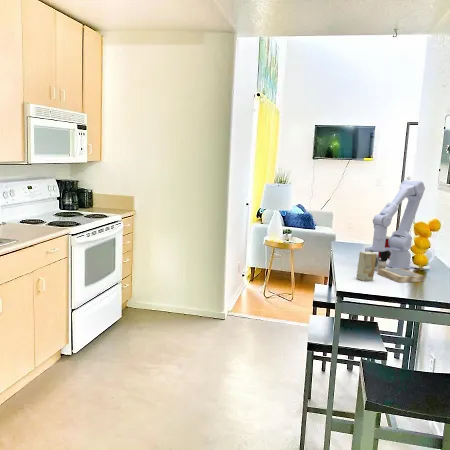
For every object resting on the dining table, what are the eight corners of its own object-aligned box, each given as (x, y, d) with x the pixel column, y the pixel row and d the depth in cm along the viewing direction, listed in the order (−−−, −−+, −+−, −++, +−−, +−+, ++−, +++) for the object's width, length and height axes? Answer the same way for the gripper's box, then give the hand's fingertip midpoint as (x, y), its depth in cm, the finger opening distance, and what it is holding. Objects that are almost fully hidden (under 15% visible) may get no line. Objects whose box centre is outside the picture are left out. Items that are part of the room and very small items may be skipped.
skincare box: (362, 281, 195) (366, 253, 193) (355, 278, 199) (359, 251, 197) (373, 280, 198) (377, 253, 196) (366, 277, 202) (369, 251, 200)
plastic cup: (398, 259, 246) (401, 238, 244) (382, 260, 242) (385, 238, 240) (385, 255, 256) (388, 234, 254) (369, 255, 252) (372, 234, 250)
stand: (400, 273, 215) (401, 267, 215) (423, 281, 202) (424, 275, 202) (377, 274, 210) (377, 268, 209) (399, 282, 197) (399, 276, 197)
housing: (373, 267, 224) (375, 255, 223) (384, 271, 217) (386, 259, 216) (366, 267, 222) (367, 255, 221) (377, 271, 215) (379, 259, 214)
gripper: (385, 237, 223) (382, 264, 226) (361, 237, 218) (358, 264, 220) (395, 240, 217) (392, 267, 219) (371, 240, 211) (368, 268, 214)
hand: (376, 266), depth 219 cm, fingers open, 7 cm apart
